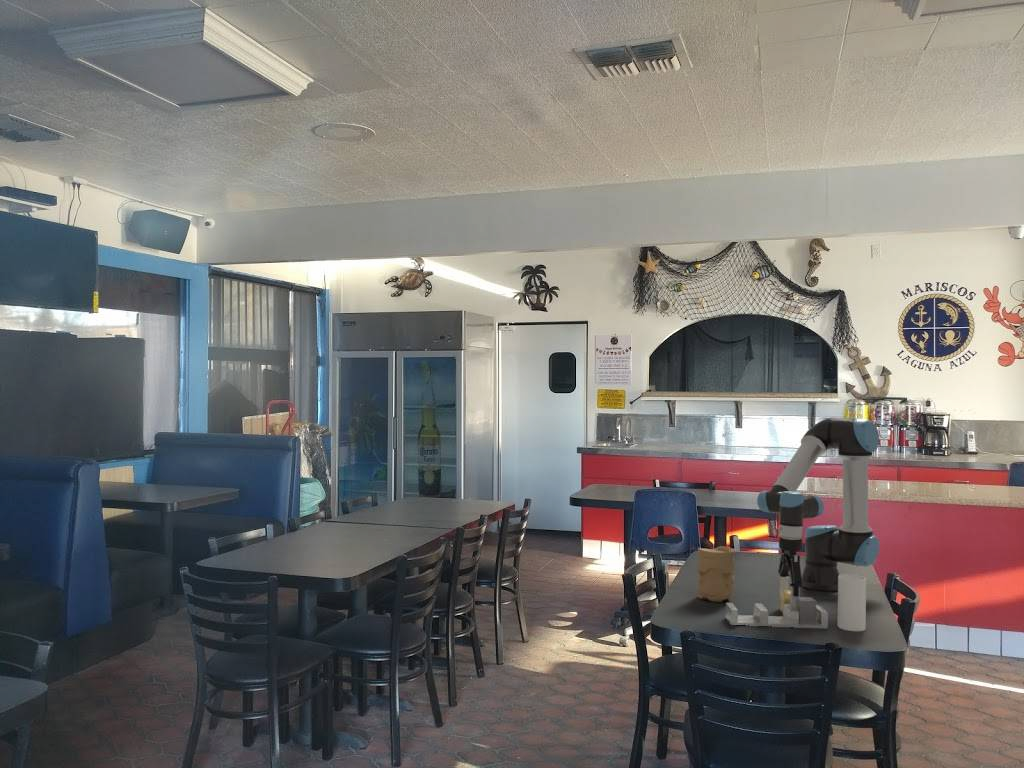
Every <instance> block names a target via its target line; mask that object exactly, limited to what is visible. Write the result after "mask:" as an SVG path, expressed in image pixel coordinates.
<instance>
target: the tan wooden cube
mask: <svg viewBox="0 0 1024 768" xmlns="http://www.w3.org/2000/svg"><path fill="white" fill-rule="evenodd" d="M779 596H780V603H779V604H780V605H779V609H780V610H779V611H780V612H781V613H782V614H783V604H790V598H791V589H788V590H781V593H780V592H779ZM793 607H794V608H795V609H796V606H793Z"/></svg>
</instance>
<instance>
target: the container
mask: <svg viewBox="0 0 1024 768" xmlns="http://www.w3.org/2000/svg"><path fill="white" fill-rule="evenodd" d="M697 550H698V551H697V554H698V556H697V570H698V571H697V597H698V599H700V600H709V601H710V602H714V603H722V602H723V601H725V600H727V599H729V598H731V597H732V595H733V594H734V589H735V575H734V573H735V572H734V571H735V558H734V557H735V548H731V547H729V546H724V545H723V546H722V545H721V546H718V547H715V548H713V549H709V548H701V547H698V548H697Z"/></svg>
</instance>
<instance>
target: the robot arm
mask: <svg viewBox="0 0 1024 768" xmlns="http://www.w3.org/2000/svg"><path fill="white" fill-rule="evenodd" d="M879 445H880V434H879V430H878V427H877V426H876V425H875V423H874V421H872V420H870V419H866V418H860V417H859V418H856V417H855V418H853V417H851V418H850V417H828V418H827V417H826V418H825V419H823V420H820V421H819V422H817V423H815V424H814V425H813V426H811V427H810V428H809V429H808V430H807V431H806V432H805V433H804V435H803V437H802V438H801V440H800V446H799V447H798V449H797V451H795V453H794V454H793V456H792V458H791V459H790V460H789V462H788V464H787V465H786V466H785V468H784V469H783V471H782V472H781V474H780V475H779V477H778V478H777V480H776V481H775V482H774V484H773V486H772V487H771V488H770V490H762V491H760V492H759V493H758V494H757V495H758V496H757V499H756V500H757V501H756V503H757V507H758V509H759V510H761V511H762V512H765V513H769V514H779V526H778V527H777V530H778V533H779V534H778V535H779V536H780V537H779V538H778V548H779V549H780V550H781V551H780V552H781V553H780V559H779V565H778V570H777V571H778V574H779V594H780V593H781V590H789V586H790V590H791V598H790V604H791V605H792V606H796V597H801V596H800V590H801V589H800V588H801V587H803V588H805V589H808V590H814V591H824V592H825V591H826V592H834V591H838V576H839V575H840V571H839V569H838V563H840V564H845V565H846V564H847V565H851V566H855V567H863V568H867V567H870V566H872V565H873V564H874V563H875V562H876V560H877V559H878V555H879V553H880V548H881V545H880V543H881V542H880V541H879V538H878V537H877V536H876V535H874V534H873V533H874V531H873V528H872V527H871V526H870V525H869V467H868V466H869V459H870V458H872V457H873V452H875V451H877V449H878V447H879ZM830 449H831V450H832V449H834V450H835V449H836V450H838V452H837V453H838V454H837V455H838V456H839V457H840V458H841V460H842V524H841V525H840V526H839V527H838V526H837V525H834V524H833V525H831V524H830V525H829V524H828V525H825V524H823V525H813V526H812V525H811V526H809V527H807V528H806V529H805V535H804V525H803V524H804V519H813V518H816V517H819V516H821V515H822V514H823V513H824V510H825V505H824V504H825V503H824V501H823V499H822V498H820V497H819V496H818V495H814V494H808V495H804V493H802V492H800V491H797V490H798V489H799V487H800V486H801V485H802V483H803V481H804V480H805V478H806V477H807V475H808V474H809V472H810V471H811V469H812V468H813V466H814V465H815V463H816V462H817V460H818V458H819V457H820V456H823V455H825V453H826V452H827V451H828V450H830ZM803 536H804V567H803V570H802V569H801V557H800V555H798V554H797V552H800V551H802V550H803V539H802V538H803ZM801 570H802V571H801ZM789 578H790V579H789ZM789 580H790V581H791V583H790V582H789Z"/></svg>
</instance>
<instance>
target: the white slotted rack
mask: <svg viewBox="0 0 1024 768" xmlns="http://www.w3.org/2000/svg"><path fill="white" fill-rule="evenodd" d="M725 619H726V620H727V622H728V621H729V622H728V623H729V625H730V624H731V625H746V626H745V627H757V626H769V627H768V628H790V627H794V628H796V629H797V628H799V629H825V630H826V629H829V628H828V626H829V625H828V623H829V620H828V619H829V612H828V611H827V610H825V608H823V607H822V606H821V605H819V604H817V600H816V599H814V597H810V596H809V597H808V596H800V597H796V609H795V608H794V607H793V606H792V605H791V604H783V613H782V616H774V615H771V616H770V615H769V610H768V609H767V608H766V607H765V605H763V603H758V602H757V603H753V615H750V614H749V615H745V614H743V615H741V614H739V610H738V608H737V607H736V605H735V604H734V603H733V602H725ZM731 625H730V626H731ZM748 625H749V626H748ZM770 626H772V627H770ZM794 628H793V629H794Z"/></svg>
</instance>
